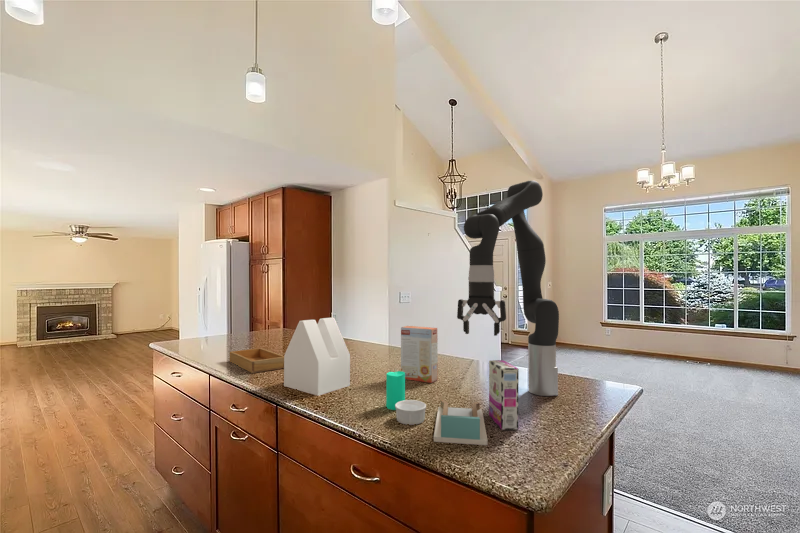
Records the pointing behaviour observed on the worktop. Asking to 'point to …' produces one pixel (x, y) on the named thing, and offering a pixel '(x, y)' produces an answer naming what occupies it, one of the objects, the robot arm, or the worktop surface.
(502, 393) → the candy bar box
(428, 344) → the cracker box
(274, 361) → the tray
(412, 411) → the ramekin
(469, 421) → the slot board
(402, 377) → the candle
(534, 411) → the worktop surface
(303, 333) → the slotted house block
